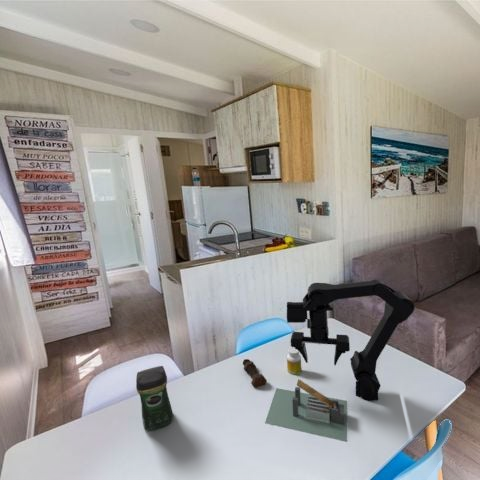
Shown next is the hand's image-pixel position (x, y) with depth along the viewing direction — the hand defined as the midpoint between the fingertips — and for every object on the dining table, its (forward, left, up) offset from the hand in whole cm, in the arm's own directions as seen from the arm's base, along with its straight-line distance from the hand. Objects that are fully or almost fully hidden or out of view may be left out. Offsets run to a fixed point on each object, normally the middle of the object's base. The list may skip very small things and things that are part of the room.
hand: (320, 363), depth 100 cm
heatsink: (0, +10, -11) cm, 15 cm away
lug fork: (+7, +10, -11) cm, 17 cm away
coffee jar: (+50, +25, -13) cm, 58 cm away
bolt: (+26, -3, -13) cm, 29 cm away
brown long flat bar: (+1, +10, -5) cm, 11 cm away
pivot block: (-5, +10, -11) cm, 16 cm away
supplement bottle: (+11, -10, -13) cm, 19 cm away
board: (+4, +10, -12) cm, 16 cm away
